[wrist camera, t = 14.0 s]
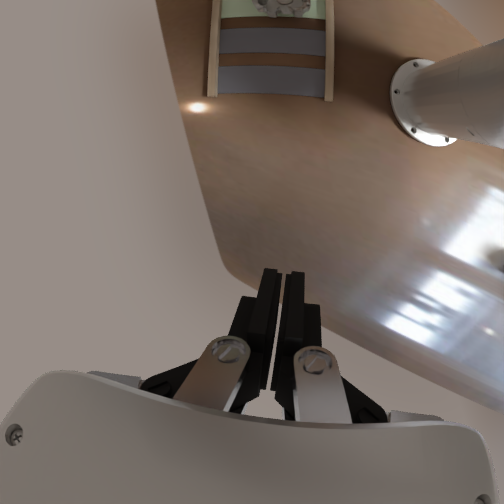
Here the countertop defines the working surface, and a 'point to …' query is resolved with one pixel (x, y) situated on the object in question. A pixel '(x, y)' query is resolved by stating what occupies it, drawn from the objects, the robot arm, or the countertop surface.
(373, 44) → the countertop surface
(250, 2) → the pad
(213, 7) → the channel
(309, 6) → the egg carton
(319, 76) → the strips
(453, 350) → the countertop surface
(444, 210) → the countertop surface
